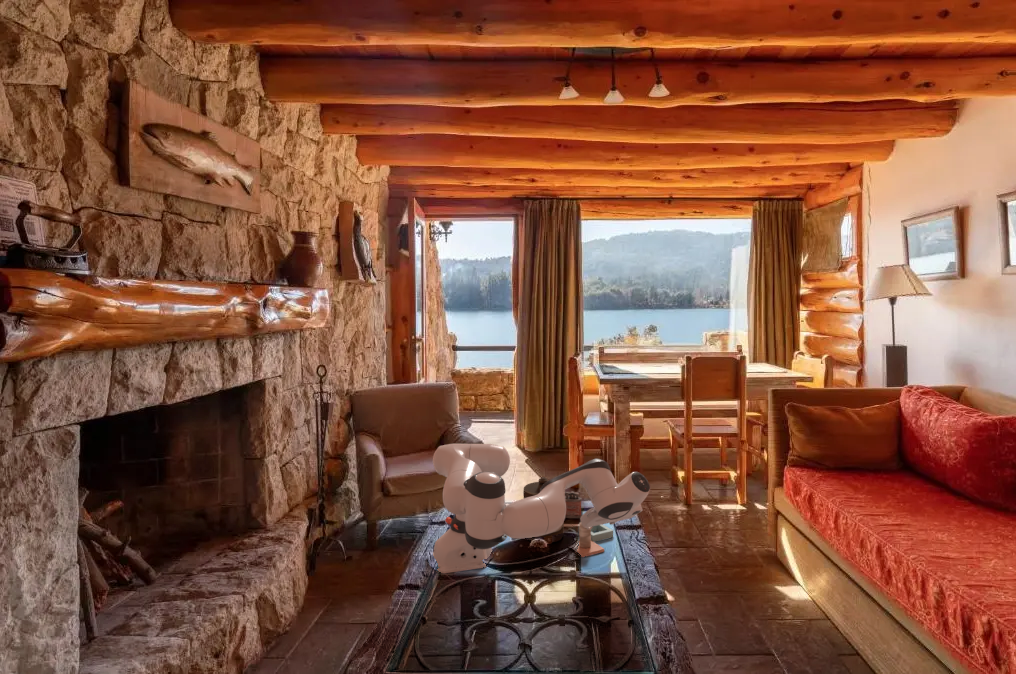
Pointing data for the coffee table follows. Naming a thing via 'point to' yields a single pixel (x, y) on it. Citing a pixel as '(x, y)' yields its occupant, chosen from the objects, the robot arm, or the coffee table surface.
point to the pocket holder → (601, 533)
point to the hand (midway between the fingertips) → (599, 524)
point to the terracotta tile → (590, 550)
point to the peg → (584, 537)
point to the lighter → (573, 505)
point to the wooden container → (533, 490)
